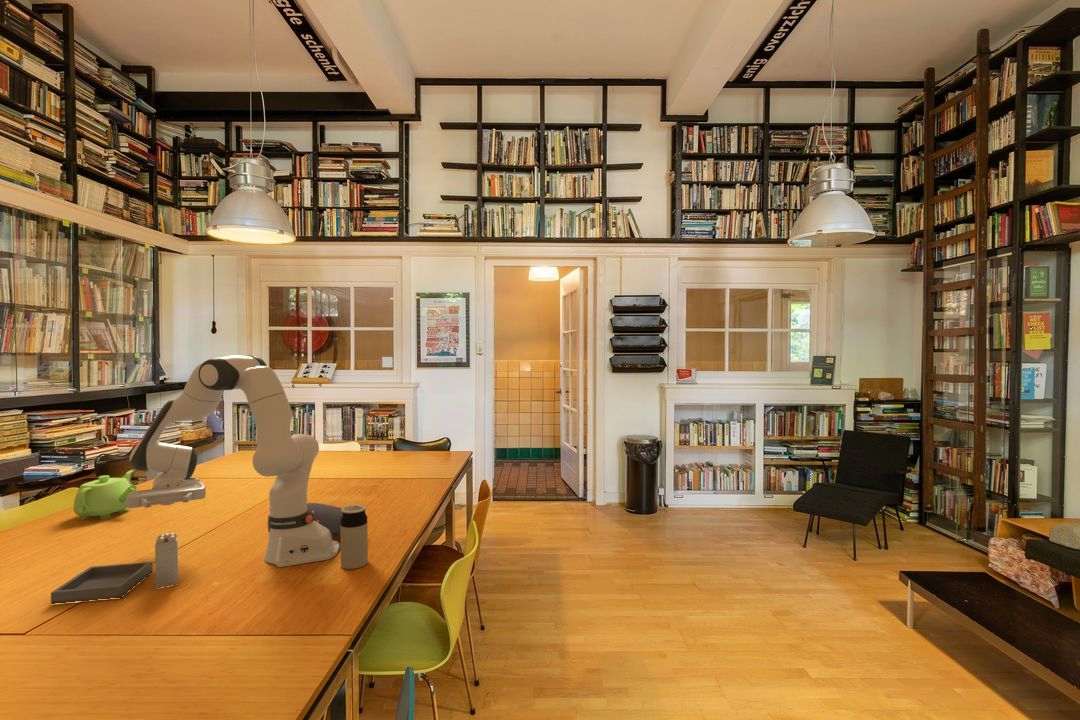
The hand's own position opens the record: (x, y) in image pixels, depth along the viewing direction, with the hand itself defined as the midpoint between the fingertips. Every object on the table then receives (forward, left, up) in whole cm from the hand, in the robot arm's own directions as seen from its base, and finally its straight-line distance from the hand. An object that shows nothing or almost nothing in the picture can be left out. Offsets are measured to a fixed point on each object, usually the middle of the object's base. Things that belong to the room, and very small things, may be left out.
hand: (167, 502), depth 154 cm
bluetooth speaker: (-43, -21, -21) cm, 52 cm away
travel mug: (-56, +9, -21) cm, 60 cm away
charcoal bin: (+11, +10, -21) cm, 26 cm away
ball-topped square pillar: (-5, +11, -21) cm, 24 cm away
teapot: (+47, -63, -21) cm, 81 cm away
